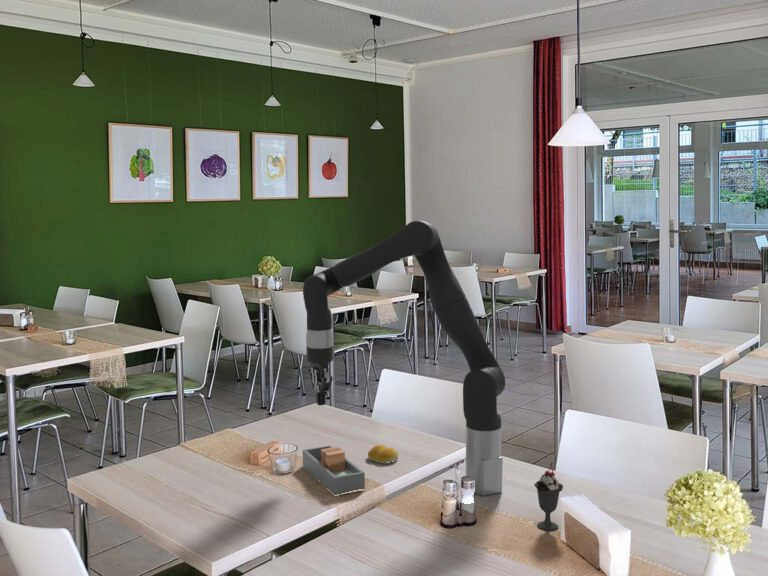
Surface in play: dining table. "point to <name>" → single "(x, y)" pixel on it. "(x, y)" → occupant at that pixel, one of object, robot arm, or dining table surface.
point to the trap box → (335, 480)
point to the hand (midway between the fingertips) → (320, 404)
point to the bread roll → (382, 454)
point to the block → (333, 459)
